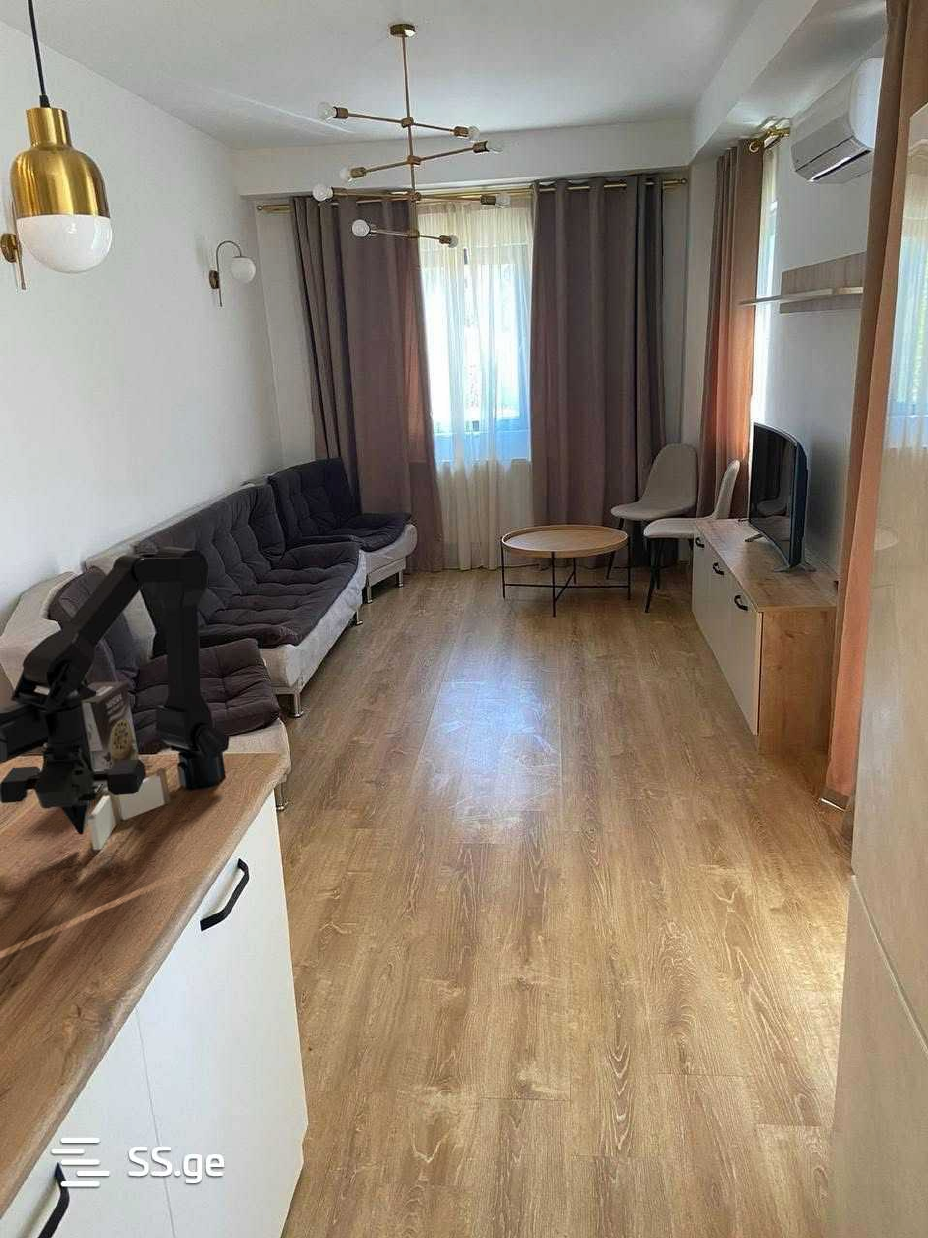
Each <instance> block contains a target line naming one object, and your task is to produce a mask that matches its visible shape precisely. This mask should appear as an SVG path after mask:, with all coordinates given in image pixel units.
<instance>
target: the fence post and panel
mask: <svg viewBox="0 0 928 1238" xmlns="http://www.w3.org/2000/svg"><path fill="white" fill-rule="evenodd" d="M155 773H156V774H155V775H152V776H149V777H147V778H146V777H145V778H144V780H143V783H142V785H141V787H140V789H139V791H138V792H136V793H134V794H122V795H114V794H112V793H111V792H109V791H108V787H107V788H104V789H102V790H101V793H102V797H103V796H106V795H110V797H111V802H112V808H113V813H114V818H115V823H116V825H118V824H120V823H121V822H122V821H125V820H128V819H131V818H133V817H136V816H138V815H140V814H143V813H146V812H148V811H151V810H153V809H156V808H159V807H161V806H163V805H168V804H170V803H171V801H172V800H171V795H170V787H169V782H168V778H167V771H166V768H164V767H162V768H161V767H160V768H157V769H156V771H155ZM116 825H115V826H116Z"/></svg>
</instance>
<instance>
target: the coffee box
mask: <svg viewBox="0 0 928 1238" xmlns="http://www.w3.org/2000/svg"><path fill="white" fill-rule="evenodd" d="M86 686H87V687H88V688H90V689H92V690H94V691H96V692H97V695H96V696H94V697H91V698H89V699H86V700H84V701H83V704H84V710H85V717H86V723H87V729H88V732H91V740H90V741H89V742H90V748H91V754H92V758H95V766H94V770H99V769H102V771H105V770H111V768H112V766H113V765H114V763H115V761H123V760H138V759H139V760H140V756H139V751H138V745H137V744H138V743H137V739H136V732H135V727H134V722H133V717H132V710H131V709H132V708H131V704H130V699H129V692H128V686H127V682H125V681H104V682H101V681H98V682H97V681H95V682H92V683H90V684H89V685H86ZM104 788H107V784H105V785H104V786H103V788H102V790H103V789H104Z"/></svg>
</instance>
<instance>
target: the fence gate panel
mask: <svg viewBox="0 0 928 1238" xmlns="http://www.w3.org/2000/svg"><path fill="white" fill-rule="evenodd" d="M87 823H88V824H87V825H88V829H89V833H90V839H91V844H92V848H93V851H101V850H102V848H103V847H104V846H105V844H106V842H107V840H108V839H109V837H110V836H111V834H112V832H113V830H114V828H115V827H116V823H115V818H114V813H113V808H112V802H111V797H110V795H106V796H103V795H102V797H101V799H100V800H99V802H98V803H97V804H96V806H95V808H94V809H93V811H92V812H91V813H90V814H89V816H88V820H87Z"/></svg>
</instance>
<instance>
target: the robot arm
mask: <svg viewBox="0 0 928 1238" xmlns="http://www.w3.org/2000/svg"><path fill="white" fill-rule="evenodd" d="M208 576H209V561H208V558H207V556H205V555H204V554H203V553H202V552H201V551H199V550H197V549H189V548H180V547H173V546H165V547H162V548H160V549H158V550H157V551H156V553H140V554H134V555H129V554H124V555H121V556H119V557H118V558H116V560H115V561H114V563H113V566H112V568H111V569H110V570H109V572H107V574H106V576H104V578H103V579H102V581H101V582H100V584H98V585H97V587H96V588H95V590H93V592H92V593H91V594H90V596H89V597H88V598H87V599H86V600H85V602H84V603H83V604H82V605H81V607H80V608H79V609H78V610H77V611H76V613H75V614H74V615H73V617H71V619H70V620H69V622H68V623H67V624H65V626H64V627H62V628H61V629H59V630H58V631H56V632H54V633H52V634H50V635H48V636H47V637H45V638H44V639H43V640H42V641H40V643H38V644H37V645H36V646H35V647H34V648H32V649H31V650H30V651H29V652H27V653H28V654H27V655H26V656H25V658H24V659H23V663H22V667H23V670H22V673H21V675H20V677H19V680H18V682H17V684H16V686H15V689H14V691H13V693H12V695H11V698H10V701H11V702H12V703H15V704H12V705H10V706H7V707H4V708H1V709H0V765H1V764H4V763H8V762H10V761H11V760H14V759H16V758H19V757H21V756H23V755H26V754H28V753H31V752H33V751H35V750H37V749H40V748H42V747H43V746H44V749H43V750H42V759H43V761H42V767H41V769H40V768H39V766H37V765H36V766H23V767H13V768H11V769H10V770H9V771H8V773H7V774H6V776H4V778H2V781H0V803H2V804H7V803H9V804H10V803H20V802H21V803H22V802H23V801H24V800H25V799H26V797H28V795H29V792H28V790H34V792H35V794H36V797H37V800H38V802H39V805H40V807H41V808H42V809H46V810H47V809H51V808H58V807H59V809H61V811H62V812H63V813H64V814H65V816H66V817H67V818H68V819H69V821H70V823H71V824H72V825H73V827H74V828H75V831H76V832H77V833H78V835H80V836H82V835H84V834H85V831H86V827H87V825H88V824H87V823H88V818H89V817H90V810H91V806H92V803H93V801H96V800H97V799H98V797H99V795H100V794H101V793H102V790H103V789H102V788H103V786H104V785H105V784H107V787H108V791H109V792H111V793H112V794H114V795H122V794H134V793H136V792H138V791H139V789H140V787H141V785H142V783H143V780H144V779H146V776H147V772H146V765H145V763H143V762H142V760H141V759H140V758H139V759H138V760H123V761H115V763H114V765H113V766H112V768H111V770H105V771H102V769H99V770H94V766H95V758H92V754H91V748H90V742H89V741H90V740H91V732H88V729H87V723H86V717H85V710H84V704H83V701H84V700H86V699H89V698H91V697H94V696H96V695H97V692H96V691H94V690H92V689H90V688H88V687H87V686H88V685H86V684H85V683H84V681H85V679H86V677H87V675H88V673H89V672H90V670H91V668H92V666H93V664H94V658H95V652H96V651H95V650H96V648H98V645H99V643H100V642H101V641H102V640H103V638H104V637H105V636H106V634H107V633H108V631H109V630H110V629H111V628H112V627H113V625H114V624H115V623H116V622H117V620H118V619H119V618H120V616H121V615H122V613H124V611H125V610H126V608H127V607H128V606H129V604H131V602H132V600H133V599H134V598H135V596H136V595H137V594H138V593H139V591H140V590H141V589H142V588H143V586H144V585H145V584H149V583H153V586H154V589H155V592H156V593H157V595H158V596H159V598H160V599H161V601H162V604H163V607H164V615H165V617H164V621H165V640H166V665H167V667H166V668H167V682H168V683H167V684H168V685H167V687H168V688H167V689H168V695H167V697H166V699H165V700H164V703H163V704H162V705H157V706H156V707H155V708H154V714H155V720H156V724H155V727H154V728H155V729H154V731H156V732H158V736H159V739H160V740H161V741H162V742H164V743H165V744H166V745H168V747H169V749H170V750H171V751H173V752H178V753H177V756H178V757H177V758H178V761H179V762H177V763H176V767H177V768H176V769H177V774H178V781H179V786H180V787H182V788H183V789H184V790H185V791H188V792H189V791H195V790H203V789H209V788H212V787H215V786H216V785H218V784H220V782H221V781H222V780H223V779H226V778H227V775H226V767H225V762H224V754H223V753H224V752H225V751H228V750H229V745H230V736H229V735H228V734H225V733H223V731H220V730H219V729H217V728H216V727H215V724H214V719H213V714H212V710H211V708H210V707H209V705H208V703H207V701H206V699H205V698H204V696H203V694H202V683H201V682H202V681H201V680H202V679H201V662H200V661H201V657H200V656H201V654H200V652H201V651H200V633H199V631H200V629H199V603H200V602H201V600H202V598H203V596H204V595H205V592H206V590H207V587H208ZM37 688H39V689H43V690H46V691H49V692H48V694H45V693H41V692H38V691H36V689H37Z"/></svg>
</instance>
